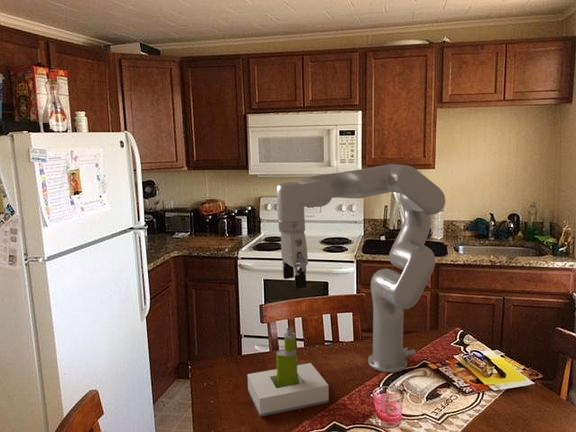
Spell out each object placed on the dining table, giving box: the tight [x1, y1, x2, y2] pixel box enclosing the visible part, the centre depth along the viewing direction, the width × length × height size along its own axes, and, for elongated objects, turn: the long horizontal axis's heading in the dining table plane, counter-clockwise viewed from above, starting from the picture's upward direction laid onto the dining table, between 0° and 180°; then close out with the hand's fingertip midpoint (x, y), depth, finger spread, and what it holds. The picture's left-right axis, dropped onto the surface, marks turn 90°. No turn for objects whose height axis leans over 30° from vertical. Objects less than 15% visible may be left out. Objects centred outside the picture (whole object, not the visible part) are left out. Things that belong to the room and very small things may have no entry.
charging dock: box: [247, 362, 330, 417], centre depth 139 cm, size 20×14×5 cm
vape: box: [276, 327, 298, 388], centre depth 138 cm, size 4×6×20 cm, turn 81°
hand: (294, 282), depth 141 cm, fingers open, 9 cm apart
